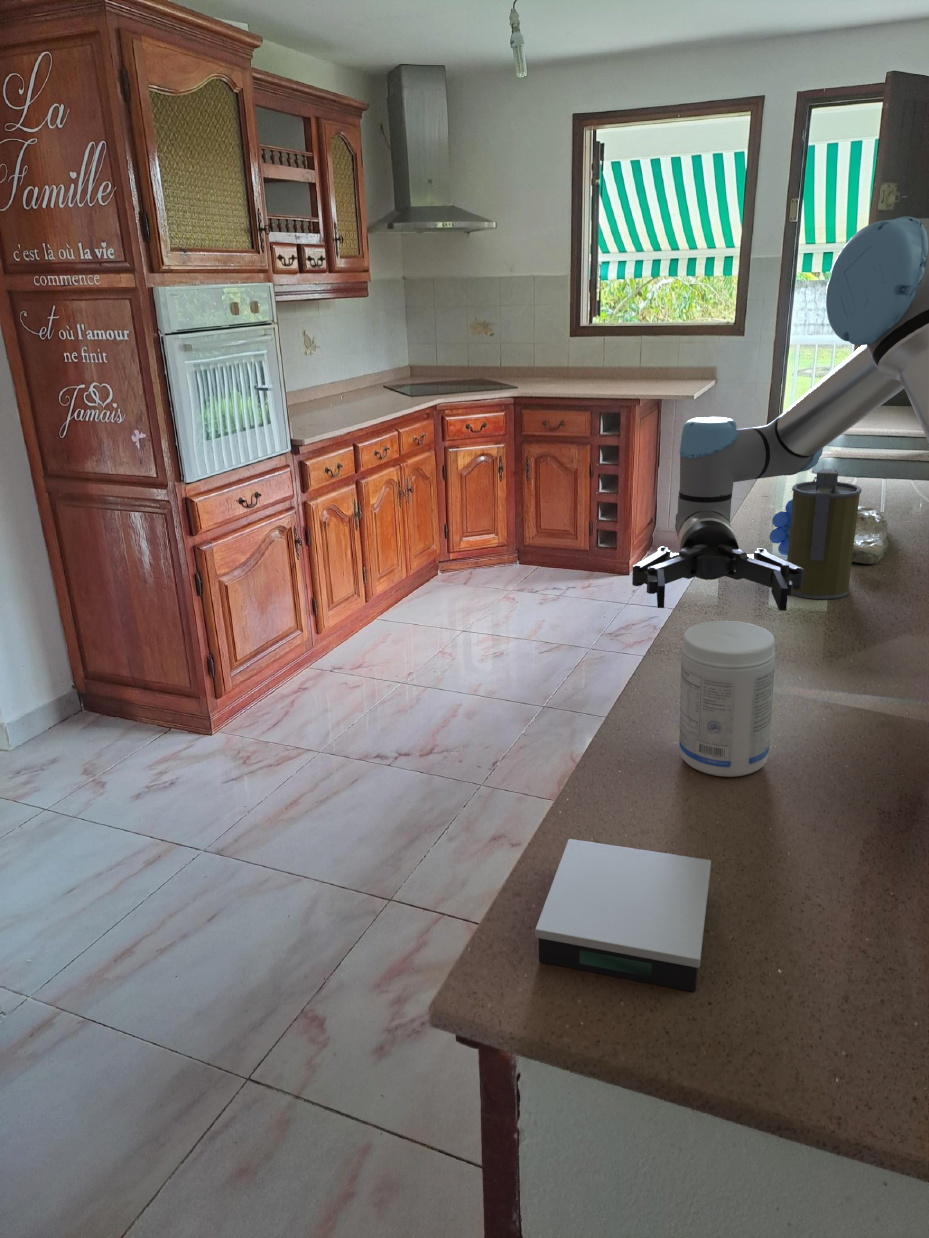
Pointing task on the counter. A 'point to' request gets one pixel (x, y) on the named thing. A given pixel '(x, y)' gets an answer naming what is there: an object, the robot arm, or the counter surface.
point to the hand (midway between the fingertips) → (721, 598)
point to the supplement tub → (726, 697)
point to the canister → (823, 534)
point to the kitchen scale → (626, 914)
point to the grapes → (782, 529)
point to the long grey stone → (869, 536)
